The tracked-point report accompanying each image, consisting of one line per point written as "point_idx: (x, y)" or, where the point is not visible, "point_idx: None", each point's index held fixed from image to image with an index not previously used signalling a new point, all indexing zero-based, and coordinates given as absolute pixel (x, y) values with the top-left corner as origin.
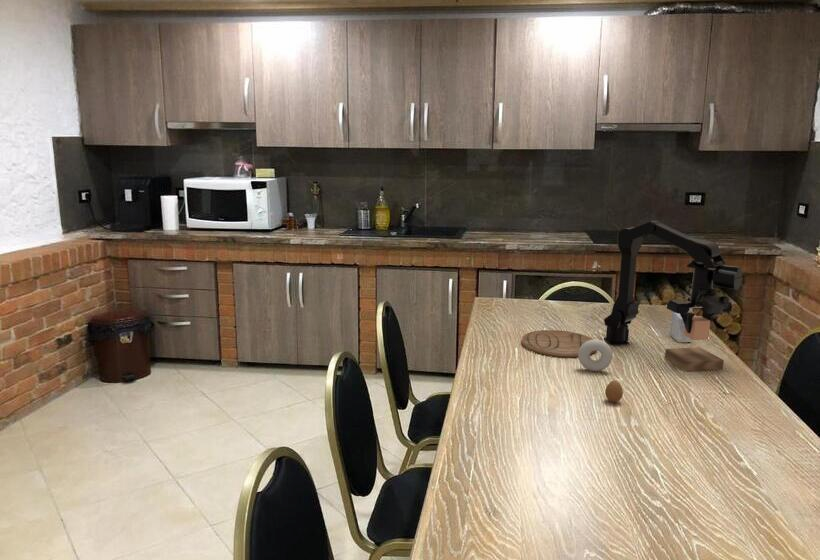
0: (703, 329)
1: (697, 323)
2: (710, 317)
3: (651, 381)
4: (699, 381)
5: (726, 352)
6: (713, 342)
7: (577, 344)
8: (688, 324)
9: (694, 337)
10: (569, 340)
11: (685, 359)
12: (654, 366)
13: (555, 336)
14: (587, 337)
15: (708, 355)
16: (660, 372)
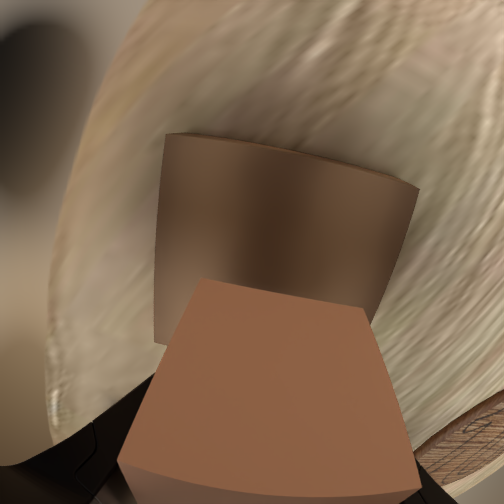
0: (262, 372)
1: (381, 461)
2: (84, 500)
3: None
4: (435, 59)
5: (47, 299)
6: (52, 370)
7: (477, 436)
8: (417, 460)
9: (361, 322)
10: (462, 454)
11: (397, 226)
12: (460, 280)
13: (456, 468)
14: None
15: (197, 232)
16: (494, 218)
